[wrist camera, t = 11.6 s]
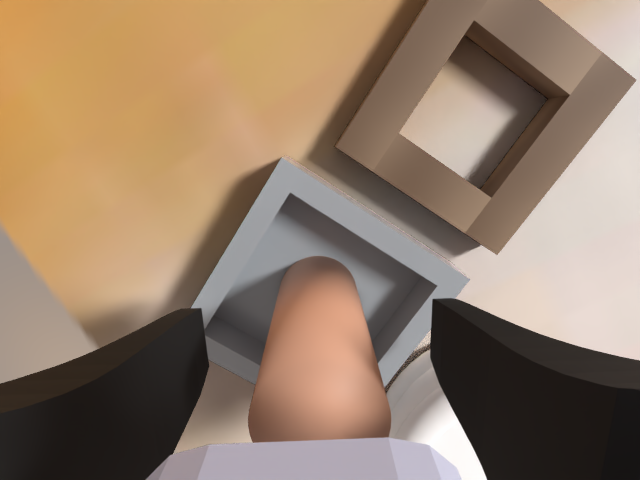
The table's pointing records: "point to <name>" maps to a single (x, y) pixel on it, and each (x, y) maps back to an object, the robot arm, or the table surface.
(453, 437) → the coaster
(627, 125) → the table surface
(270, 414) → the dowel
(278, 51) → the table surface
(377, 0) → the table surface
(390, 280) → the tray
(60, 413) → the robot arm
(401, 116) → the collar
